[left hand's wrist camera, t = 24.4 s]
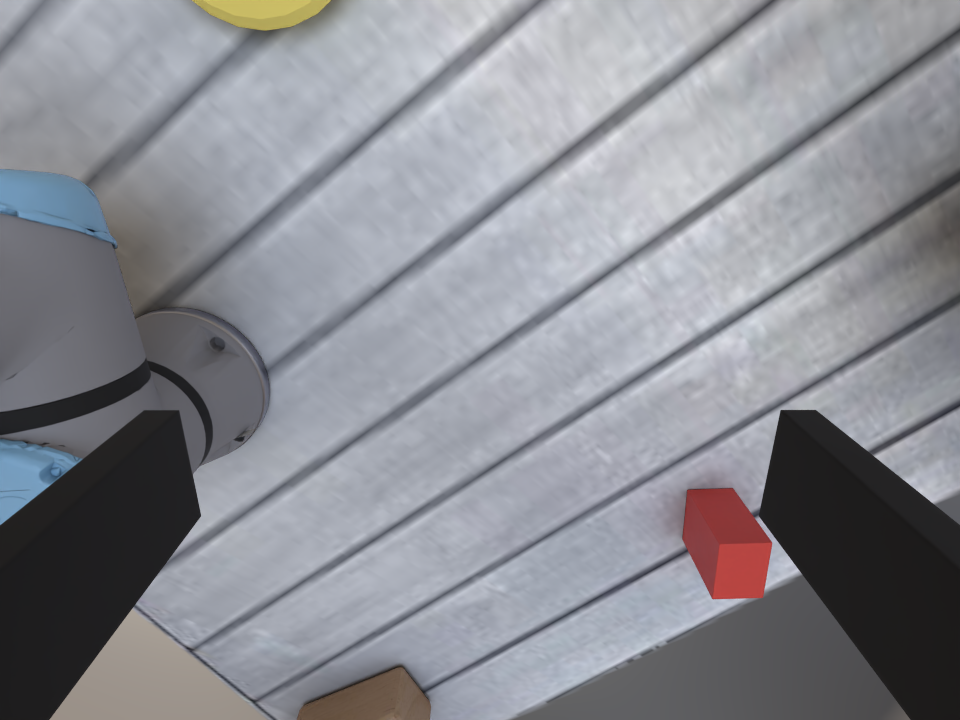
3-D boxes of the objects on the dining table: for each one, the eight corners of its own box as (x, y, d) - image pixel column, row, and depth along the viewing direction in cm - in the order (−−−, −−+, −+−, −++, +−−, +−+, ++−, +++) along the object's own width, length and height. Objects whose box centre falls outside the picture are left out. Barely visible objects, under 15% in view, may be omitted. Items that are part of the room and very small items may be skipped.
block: (733, 487, 60) (772, 542, 52) (726, 537, 62) (763, 598, 54) (687, 489, 60) (719, 544, 52) (682, 539, 63) (712, 599, 54)
